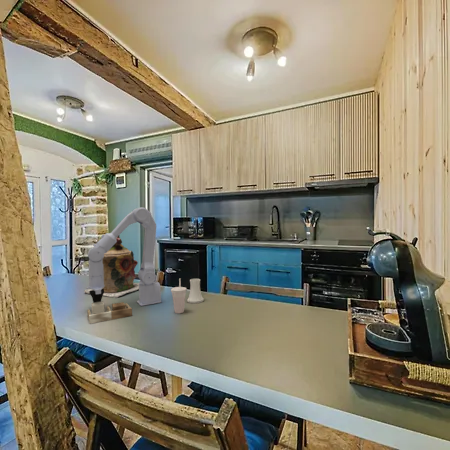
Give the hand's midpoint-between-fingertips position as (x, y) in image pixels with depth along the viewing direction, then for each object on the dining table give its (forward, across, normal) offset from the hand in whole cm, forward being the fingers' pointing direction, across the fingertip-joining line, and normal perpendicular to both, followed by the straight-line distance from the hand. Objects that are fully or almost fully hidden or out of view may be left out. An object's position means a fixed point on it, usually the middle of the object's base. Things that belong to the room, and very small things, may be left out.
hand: (97, 307), depth 117 cm
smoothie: (+2, +21, +29) cm, 36 cm away
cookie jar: (+2, -31, +13) cm, 34 cm away
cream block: (+2, +4, 0) cm, 4 cm away
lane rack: (+2, +10, +4) cm, 11 cm away
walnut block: (+2, +9, +7) cm, 12 cm away
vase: (+2, +10, +41) cm, 42 cm away
